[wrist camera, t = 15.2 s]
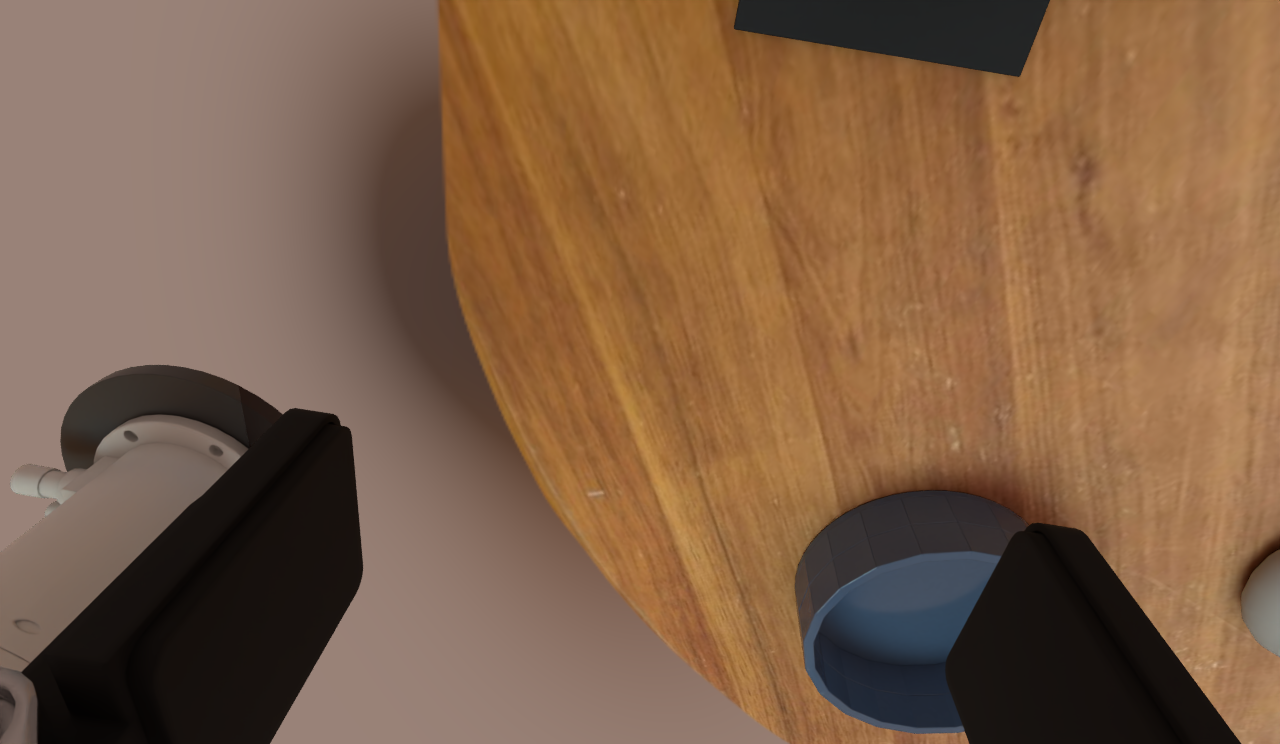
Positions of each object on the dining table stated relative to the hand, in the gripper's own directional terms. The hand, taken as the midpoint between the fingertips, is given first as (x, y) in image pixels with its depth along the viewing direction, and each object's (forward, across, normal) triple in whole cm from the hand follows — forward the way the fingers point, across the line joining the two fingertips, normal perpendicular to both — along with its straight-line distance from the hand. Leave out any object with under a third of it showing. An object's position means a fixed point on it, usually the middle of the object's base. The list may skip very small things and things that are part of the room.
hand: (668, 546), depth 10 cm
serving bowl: (+25, -19, +23) cm, 39 cm away
